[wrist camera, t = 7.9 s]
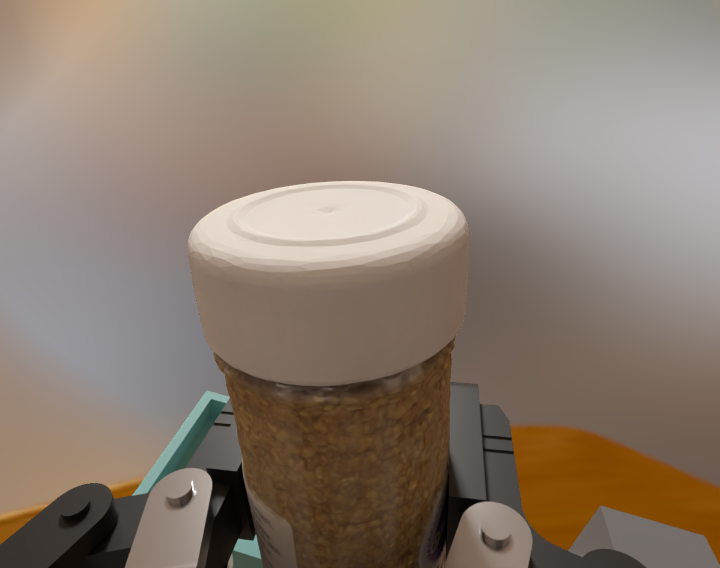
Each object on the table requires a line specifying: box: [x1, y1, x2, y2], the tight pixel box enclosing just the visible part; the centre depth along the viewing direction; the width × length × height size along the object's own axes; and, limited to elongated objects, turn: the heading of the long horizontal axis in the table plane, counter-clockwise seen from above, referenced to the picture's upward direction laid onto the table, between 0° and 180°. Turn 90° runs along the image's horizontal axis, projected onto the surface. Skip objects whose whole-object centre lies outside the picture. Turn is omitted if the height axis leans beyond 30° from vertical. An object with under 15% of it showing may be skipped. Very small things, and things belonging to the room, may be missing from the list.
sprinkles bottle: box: [187, 181, 469, 568], centre depth 11 cm, size 5×5×14 cm
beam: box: [132, 391, 720, 568], centre depth 23 cm, size 26×8×6 cm, turn 80°
